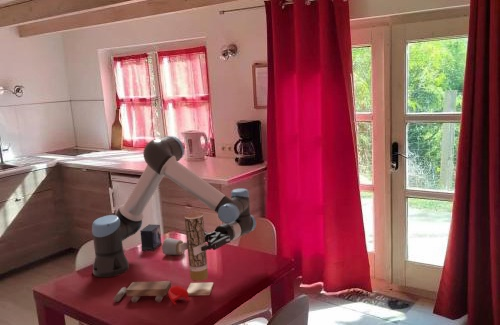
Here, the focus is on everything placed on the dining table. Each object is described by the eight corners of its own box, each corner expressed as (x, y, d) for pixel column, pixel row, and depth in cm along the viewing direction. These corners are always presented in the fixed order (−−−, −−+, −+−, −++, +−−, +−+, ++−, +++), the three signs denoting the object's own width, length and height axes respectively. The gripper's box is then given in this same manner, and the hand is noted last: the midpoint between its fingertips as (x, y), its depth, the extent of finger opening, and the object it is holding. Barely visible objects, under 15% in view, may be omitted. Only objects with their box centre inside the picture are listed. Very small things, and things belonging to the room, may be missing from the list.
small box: (154, 251, 226) (152, 230, 225) (141, 251, 228) (139, 230, 226) (162, 244, 237) (160, 224, 235) (150, 244, 238) (148, 224, 236)
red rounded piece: (166, 299, 167) (180, 290, 166) (164, 287, 172) (178, 278, 171) (179, 311, 171) (193, 302, 171) (177, 299, 176) (191, 290, 176)
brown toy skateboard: (113, 303, 174) (111, 290, 173) (121, 292, 182) (120, 281, 181) (166, 302, 172) (165, 289, 171) (172, 291, 180) (171, 279, 180)
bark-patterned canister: (201, 283, 175) (195, 218, 171) (186, 280, 178) (180, 216, 174) (211, 276, 180) (206, 213, 176) (197, 273, 184) (192, 211, 180)
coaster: (185, 295, 176) (185, 293, 176) (190, 285, 185) (190, 282, 185) (209, 295, 175) (209, 292, 175) (213, 284, 184) (213, 282, 184)
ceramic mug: (177, 257, 216) (176, 241, 215) (162, 256, 219) (161, 240, 218) (188, 250, 226) (187, 234, 225) (174, 249, 229) (172, 233, 228)
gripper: (247, 244, 186) (207, 264, 168) (210, 237, 198) (169, 255, 180) (245, 226, 185) (205, 244, 167) (208, 220, 197) (167, 236, 179)
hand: (186, 249), depth 173 cm, fingers closed on bark-patterned canister, 7 cm apart
